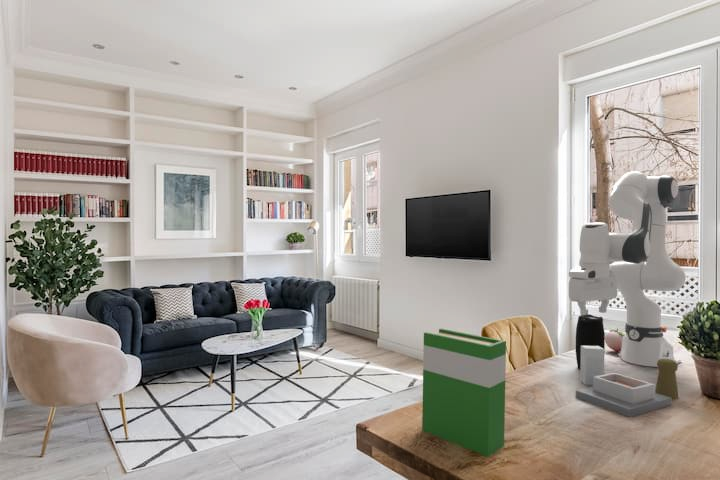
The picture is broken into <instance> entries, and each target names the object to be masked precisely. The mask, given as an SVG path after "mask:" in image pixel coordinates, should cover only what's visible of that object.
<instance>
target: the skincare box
mask: <svg viewBox="0 0 720 480" xmlns="http://www.w3.org/2000/svg"><path fill="white" fill-rule="evenodd" d="M604 374H605V352H604V349H603V348H601V347H600V346H581V368H580V382H582V383H583V384H584V385H586V386H593V377H595V376H599V375H604Z"/></svg>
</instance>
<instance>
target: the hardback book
mask: <svg viewBox="0 0 720 480" xmlns="http://www.w3.org/2000/svg"><path fill="white" fill-rule="evenodd" d="M422 354H423V355H422V356H423V358H422V359H423V360H422V362H423V365H422V366H423V367H422V410H421V411H422V412H421V413H422V416H421V417H422V421H421V422H422V423H421V424H422V425H421V426H422V427H421V431H422V432H425V433H428V434H430V435H432V436H435V437H437V438H440V439H442V440H445V441H446V442H447V441H448V442H450V443H452V444H455V445H458V446H460V447H462V448H465V449H468V450H470V451H473V452H476V453H478V454H479V455H483V456H486V457H490V456H492V454H494V453H495V452H497V451H498V450H500V449H501V448H503V447H504V446H505V419H506V418H505V417H506V415H505V412H506V411H505V410H506V369H507V367H506V363H507V362H506V361H507V360H506V359H507V340H503V339H499V338H498V339H497V338H491V337H487V336H481V335H476V334H470V333H466V332H460V331H455V330H450V329H444V328H438V332H436V333H431V332H423V353H422Z"/></svg>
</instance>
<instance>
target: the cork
mask: <svg viewBox="0 0 720 480" xmlns="http://www.w3.org/2000/svg"><path fill="white" fill-rule="evenodd" d="M678 367H679V366H678V364H677V363H676V362H675V361H673V360H670V359H659V360H658V362H657V367H656V368H658V373H657V379H656V385H655V388H654V393H658V394H661V395H664V396H667V397H671V398H672V400H677V399H678V400H679V390H678V383H677V373H676V372H677V370H678Z"/></svg>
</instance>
